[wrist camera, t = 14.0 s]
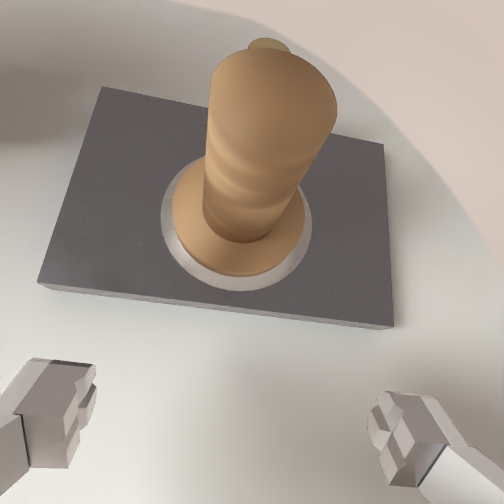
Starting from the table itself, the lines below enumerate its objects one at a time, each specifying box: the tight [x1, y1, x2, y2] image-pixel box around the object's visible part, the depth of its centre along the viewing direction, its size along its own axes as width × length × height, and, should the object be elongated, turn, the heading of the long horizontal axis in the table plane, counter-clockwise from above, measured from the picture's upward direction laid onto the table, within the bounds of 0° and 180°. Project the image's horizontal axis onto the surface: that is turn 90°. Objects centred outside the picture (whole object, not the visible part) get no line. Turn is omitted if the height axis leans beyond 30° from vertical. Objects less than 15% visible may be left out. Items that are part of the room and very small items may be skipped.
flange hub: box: [172, 48, 337, 277], centre depth 14 cm, size 7×7×8 cm
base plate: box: [37, 86, 394, 330], centre depth 19 cm, size 18×12×2 cm, turn 85°
